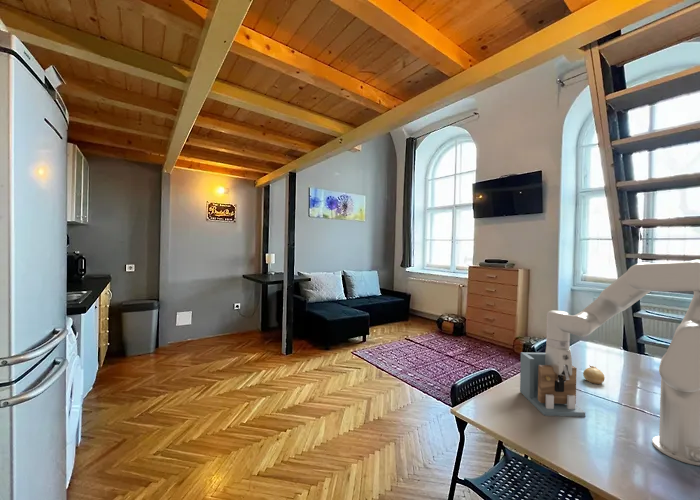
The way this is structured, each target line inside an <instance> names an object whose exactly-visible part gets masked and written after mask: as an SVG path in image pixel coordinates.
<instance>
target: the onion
mask: <svg viewBox="0 0 700 500" xmlns="http://www.w3.org/2000/svg"><path fill="white" fill-rule="evenodd" d="M582 375H583V379H585V380H586V381H587V382H589V383H590V384H593V385H594V384H595V385H597V384H598V385H601V384H602V383H604V382H605V378H606V377H605V375H604V373H603V372H602V371H601V369H598V368H597V367H596V366H594V365H590V364H589V367H587V368H585V369H584V371H583V373H582Z"/></svg>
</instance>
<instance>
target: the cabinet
mask: <svg viewBox="0 0 700 500" xmlns="http://www.w3.org/2000/svg"><path fill="white" fill-rule="evenodd" d="M545 353H546V352H522V351H521V352H520V373H519V374H520V376H519V377H520V378H519V385H520V386H519V392H521V393H522V394H523V395H524V397H525V399H526V400H528V402H530V404H532V406H534V407H535V408H536V409H537V410H538V411H539V412H540V413H541V414H542V415H543V416H547V417H548V416H551V417H553V416H554V417H555V416H556V417H586V411H584V410H583V409H581V408H580V407H579V406H578V405H576V404H575V397H576V398H577V395H576V396H574V395H567V404H559V403H554V395H552V394H546V403H541V402H540V401H538V365H545ZM521 393H520V394H521ZM522 394H521V395H522ZM523 395H522V396H523Z"/></svg>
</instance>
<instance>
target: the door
mask: <svg viewBox="0 0 700 500" xmlns="http://www.w3.org/2000/svg"><path fill="white" fill-rule="evenodd" d="M577 371H578V370H577V367H576V366H573V365H572V375H571V376H570V375H569V380H566V381H565V382H564V392H556V391H555V381H556V373H555V372H554V370H553V367H551V366H550V365H538V401H540V402H541V403H546V394H552V395H554V403H559V404H567V395H574V396H576V397H575V405H576V404H577ZM560 377H562V376H559V378H560Z"/></svg>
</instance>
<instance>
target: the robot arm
mask: <svg viewBox="0 0 700 500" xmlns="http://www.w3.org/2000/svg"><path fill="white" fill-rule="evenodd" d="M651 292H693V297H692V299H691V301H690V303H689V305H688V309H687V310H686V313H685V315H684V317H683V318H682V320H681V322H680V324H679V325H677V327H676V328H675V331H674V334H673V337H672V339H671V341H670V343H669V346H668V347H667V350H666V351H665V353H664V354H663V356H662V357H661V360H660V364H659V365H658V366H659V367H658V372H659V376H660V395H659V397H660V398H659V399H660V400H659V405H660V406H659V427H658V428H659V429H658V430H659V432H658V433H659V435H657V436H654V437H652V440H651V441H652V442H651V443H652V445H653V446H654V448H656V450H658V451H659V452H661V453H662V454H664V455H666V456H667V457H670V458H672V459H675V460H676V461H679V462H682V463H685V464H688V465H693V466H698V467H700V259H693V260H689V261H677V262H657V263H656V262H654V263H653V262H648V261H644V262H638V263H635V264H633V265H631V266H630V267H629V268H628V269H627V270H626V271H625V272H624V273H623V274H622V275H621V276H619V277H618V278H617V279H616V280H614V281H613V282H612V283H611V284H609V285H608V286H607V287H605V288H604V289H603V290H601V292H600V294H599V296H598V297H597V298H596V299H595V300H593V301H592V302H591V303H590V304H588V306H586V307H585V308H583V310H581V311H580V312H578V313H576V314H570V313H569V312H568V311H564V310H552V309H551V310H549V311H547V313H546V339H545V340H546V341H545V343H546V346H545V352H544V353H545V365H550V366H551V367H553V370H554V372H555V373H556V381H555V391H556V392H564V382H565V381H566V380H569V375H570V376H571V375H572V366H573V362H572V361H573V358H572V351H571V349H570V341H571V335H575V336H578V337H588V336H589V335H591V334H592V333H594V332H595V330H597V329H598V328H600V327H601V326H602V325H604V324H606V322H607V321H609V320H610V319H612V318H613V317H615V316H616V315H618V314H619V313H621V312H624V311H626V310H627V309H629V308H630V307H632V306H633V305H634V304H635V303H637V302H638V301H640V300H641V299H642V298H643V297H645V296H646V295H648V294H649V293H651ZM559 376H562V377H560V378H559Z"/></svg>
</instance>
